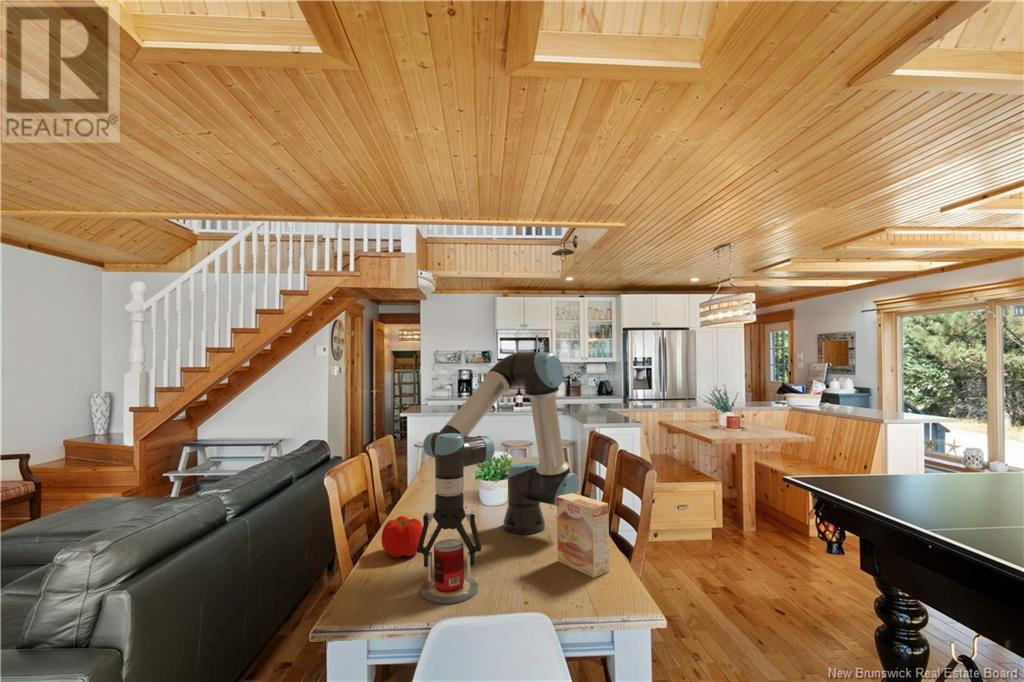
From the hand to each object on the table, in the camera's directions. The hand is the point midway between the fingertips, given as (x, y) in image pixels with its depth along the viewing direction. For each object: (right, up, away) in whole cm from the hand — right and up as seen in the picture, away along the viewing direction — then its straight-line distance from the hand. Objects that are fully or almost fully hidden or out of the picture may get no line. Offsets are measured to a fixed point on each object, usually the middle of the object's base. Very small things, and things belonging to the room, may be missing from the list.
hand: (449, 578), depth 128 cm
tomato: (-18, -5, +25) cm, 31 cm away
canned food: (0, -2, 0) cm, 2 cm away
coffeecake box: (+37, -4, +14) cm, 40 cm away
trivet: (0, -3, 0) cm, 3 cm away
